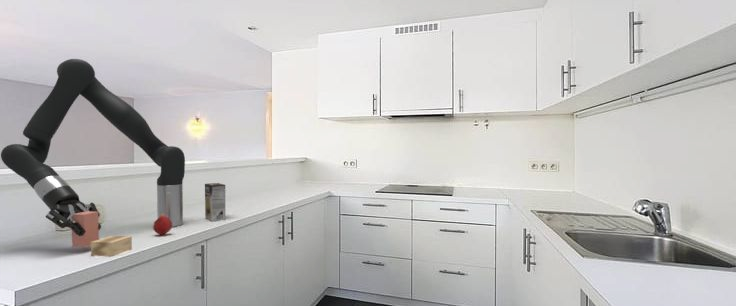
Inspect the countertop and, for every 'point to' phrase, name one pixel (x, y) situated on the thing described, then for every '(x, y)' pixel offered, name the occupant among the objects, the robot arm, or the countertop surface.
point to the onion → (162, 225)
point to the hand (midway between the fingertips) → (90, 231)
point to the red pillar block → (86, 229)
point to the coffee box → (215, 201)
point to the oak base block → (111, 245)
